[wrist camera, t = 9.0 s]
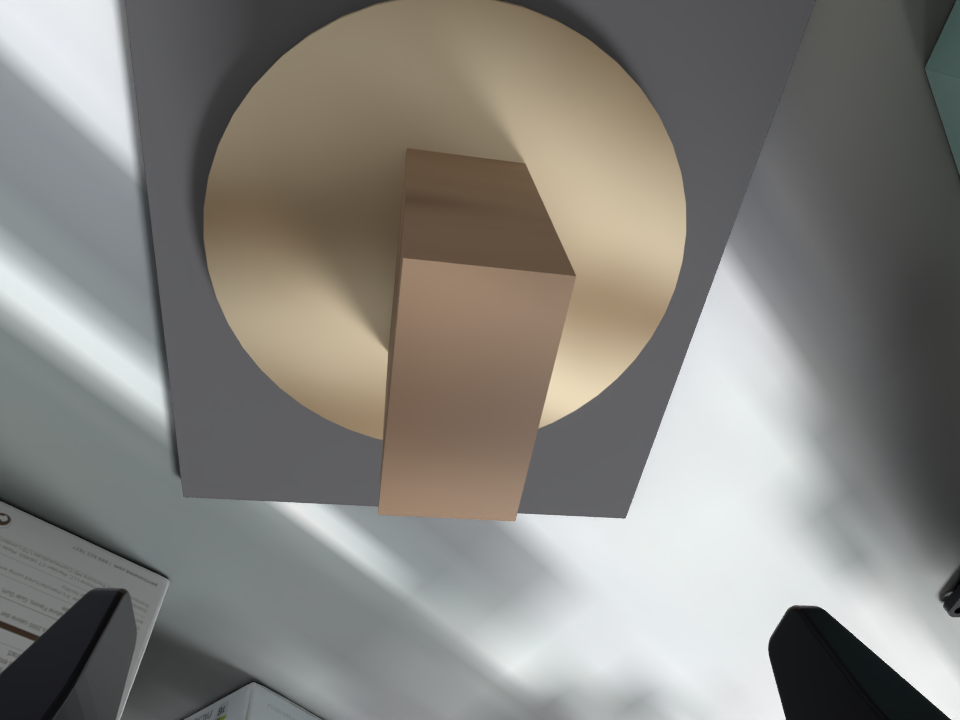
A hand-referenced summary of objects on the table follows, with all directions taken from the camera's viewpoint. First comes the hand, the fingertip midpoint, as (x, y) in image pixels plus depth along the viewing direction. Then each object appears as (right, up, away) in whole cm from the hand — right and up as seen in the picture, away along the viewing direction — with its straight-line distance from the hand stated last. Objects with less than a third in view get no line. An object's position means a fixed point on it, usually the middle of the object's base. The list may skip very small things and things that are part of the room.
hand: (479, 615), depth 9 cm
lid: (-1, +7, +10) cm, 12 cm away
